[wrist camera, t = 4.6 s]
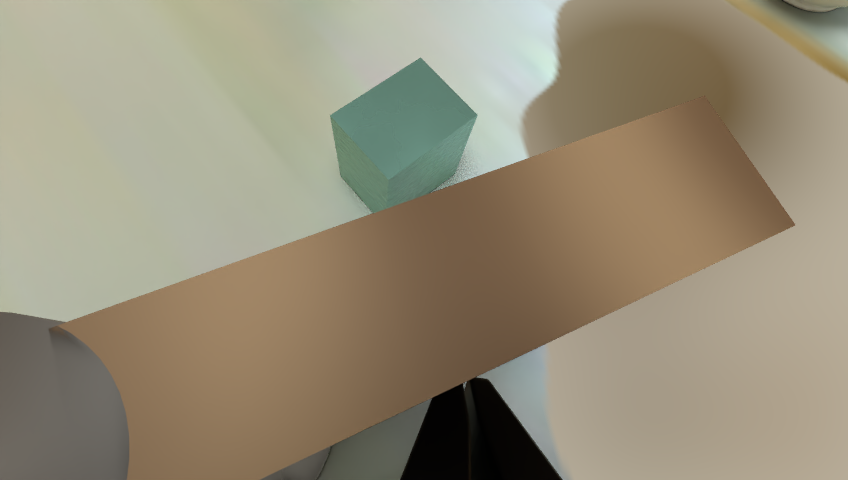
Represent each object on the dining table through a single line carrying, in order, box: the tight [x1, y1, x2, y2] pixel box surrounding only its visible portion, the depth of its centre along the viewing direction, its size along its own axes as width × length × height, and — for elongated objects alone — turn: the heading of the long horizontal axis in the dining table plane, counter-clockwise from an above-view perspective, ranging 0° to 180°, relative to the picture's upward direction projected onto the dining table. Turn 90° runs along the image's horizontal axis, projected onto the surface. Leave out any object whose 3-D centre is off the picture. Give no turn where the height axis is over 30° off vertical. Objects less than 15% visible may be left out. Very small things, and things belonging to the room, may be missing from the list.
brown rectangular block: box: [0, 96, 795, 480], centre depth 10 cm, size 16×4×7 cm, turn 114°
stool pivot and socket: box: [260, 58, 477, 480], centre depth 14 cm, size 11×17×4 cm, turn 123°
